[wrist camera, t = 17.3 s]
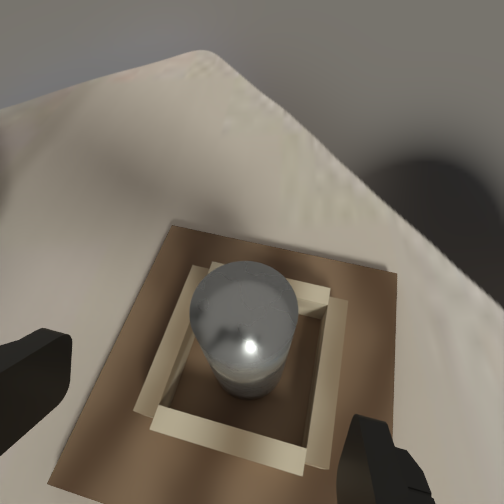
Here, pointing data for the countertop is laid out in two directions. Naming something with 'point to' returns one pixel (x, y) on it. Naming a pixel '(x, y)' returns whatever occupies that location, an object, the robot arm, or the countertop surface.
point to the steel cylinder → (245, 326)
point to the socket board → (223, 404)
